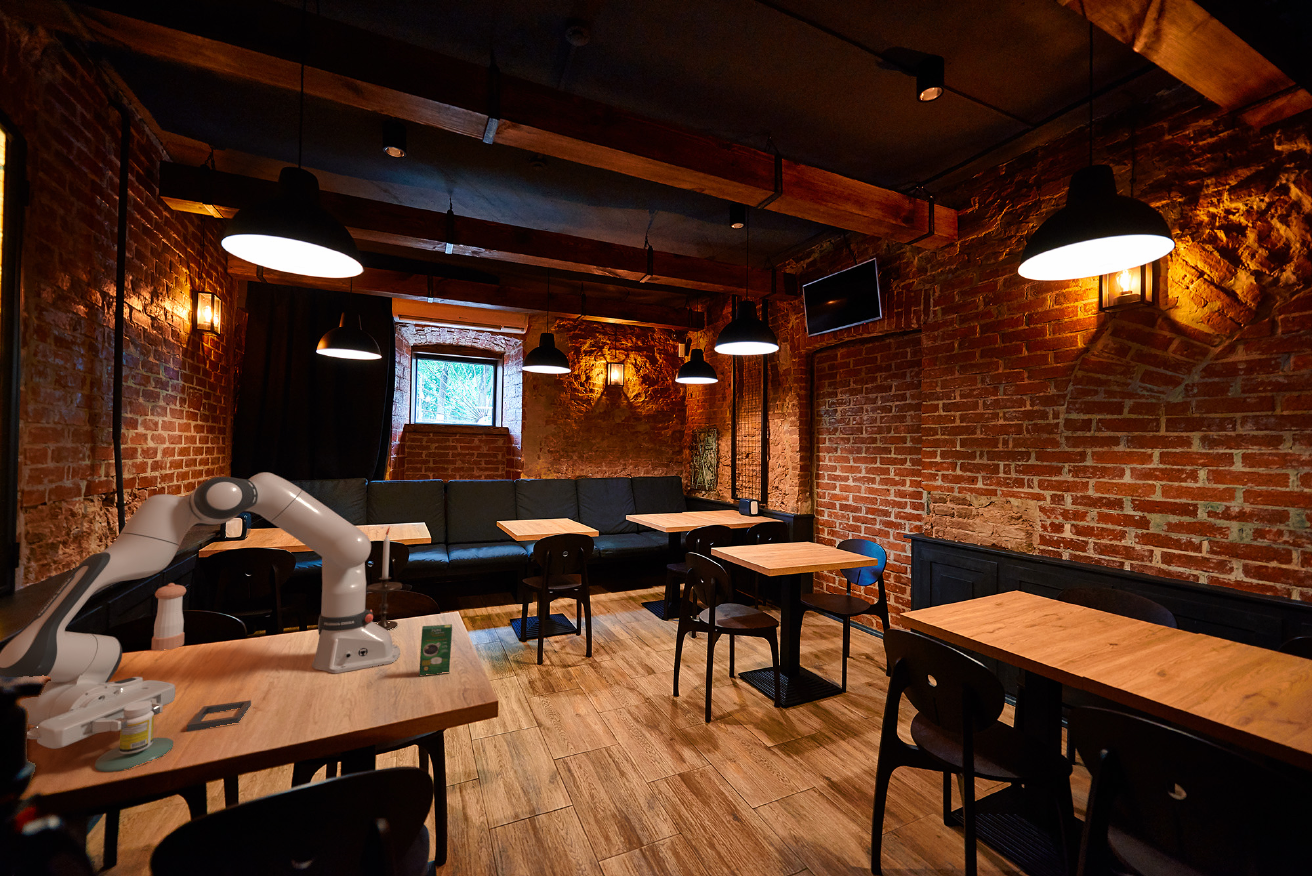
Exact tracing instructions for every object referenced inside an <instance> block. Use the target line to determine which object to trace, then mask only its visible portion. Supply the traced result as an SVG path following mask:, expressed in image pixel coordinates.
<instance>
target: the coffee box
mask: <svg viewBox="0 0 1312 876" xmlns="http://www.w3.org/2000/svg"><path fill="white" fill-rule="evenodd" d="M452 638H453V625H452V624H449V623H448V624H438V625H437V624H436V625H435V624H434V625H423V626H422V629H421V639H420V656H419V671H418V676H419V677H421V676H420V675H426V674H437V673H442V672H449V673H450V671H451V667H450V665H451V654H452ZM437 675H438V674H437Z"/></svg>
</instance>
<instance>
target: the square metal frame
mask: <svg viewBox="0 0 1312 876" xmlns="http://www.w3.org/2000/svg"><path fill="white" fill-rule="evenodd" d="M250 706H252V700H251V699H250V700H241V701H235V702H227V703H218V704H213V705H204V706H203V707H202V708H201V709H200V710H199V711H198V712H197V713H196V714H195V715H194V717H193V718H192V719H191V720H190V721H189V722H188V724H187V725H186V732H187V733H188V732H195V731H201V729H202V730H207V729H206V728H209V729H211V728H210V727H216V726H220V725H227V724H232V723H240V722H241V721H242V720H241V718H242V717H243V716H244V717H245V715H246V714H247V712H248V711H249V710H248V708H249V707H250ZM237 708H240V709H239V710H238V711H237V713H236V714H235V715H234V716H229V717H222V718H214V719H208V720H207V719H206V720H203V719H204V718H205V717H206V714H207V715H208V713H210V714H215V713H214V712H217V713H221V712H220V711H224V712H227V711H226V710H231V709H237ZM250 708H251V707H250ZM250 708H249V709H250ZM247 710H248V711H247ZM246 711H247V712H246ZM245 713H246V714H245ZM244 714H245V715H244ZM244 717H243V718H244ZM243 718H242V719H243ZM240 720H241V721H240ZM239 721H240V722H239ZM216 728H217V727H216Z"/></svg>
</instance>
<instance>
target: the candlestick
mask: <svg viewBox="0 0 1312 876" xmlns="http://www.w3.org/2000/svg"><path fill="white" fill-rule="evenodd" d="M390 528H391V526H388V528H387V531H386V533H385V538H384V539H383V550H382V572H381V573H382V574H381V577H379V578H378V580H381V582H377V583H376V582H375V583H372V584H369V585H366V592H369V593H374V594H375V593H377V594H378V593H379V594H381V603H380V604H379V609H380V612H379V615H380V616H381V617H380V618H381V619H380V620H379V621H376V622H375V623H376V624H377V623H378V624H377V625H379V626H381V627H382V628H384V629H386V630H389V631H391V630H390V629H392V628H395V627H396V626H397V627H398V625H399V624H398V622H397V621H396V620H395V621H393V620H387V618H386V616H387V614H388V611H387V609H388V607H389V603H387V594H388V593H390V592H395V591H399V590H401V589H402V587H403V583H401V582H399V581H397V582H396V581H389V580H391V579H392V577H391V576H389V566H390V565H389V564H390V542H391V540H390V538H389V532H390V530H391V529H390ZM388 622H390V623H388ZM397 627H396V628H397ZM396 628H395V629H396ZM392 630H393V629H392Z"/></svg>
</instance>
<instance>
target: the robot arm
mask: <svg viewBox="0 0 1312 876" xmlns="http://www.w3.org/2000/svg"><path fill="white" fill-rule="evenodd" d="M244 512H251V513H255V514H256V515H259V516H261V517H262V518H264V519H265V520H266V521H268V522H270V523H271V524H273V525H274V526H276V527H277V528H279V529H280V530H282V531H284V532H285V533H287V534H288V535H290V536H291V537H293V538H295V539H296V540H298V541H299V542H300V543H302V544H303V545H305V546H306V547H308V548H309V549H310V550H312V551H313V552H314V553H316V554H317V555H319V556H320V557H321V574H322V575H321V579H322V580H321V582H322V583H321V584H322V585H321V590H322V592H321V612H320V614H319V615H318V616H319V617H318V624H317V625H318V629H317V631H318V636H319V637H318V642H317V647H316V652H315V655H314V657H313V661H312V664H311V666H312V668H313V669H315V670H319V671H325V672H329V673H331V674H339V673H345V672H350V671H356V670H363V669H368V668H373V667H377V666H378V665H379V666H383V665H382V664H384V665H389V664H392V662H393V663H394V662H396V661H397V660H398V659H399V658H400V656H399V655H401V648H400V647H399V645H396V644H393V639H392V636H391V633H390V630H389V631H388V630H386V629H384V628H382V627H381V626H379V625H377V624H376V622H374V621H373V619H374V615H373V610H372V609H370V610H369V609H368V608H366V596H367V594H366V593H367V579H366V577H367V576H366V565H365V564H366V563H365V562H366V561H367V560H368V558H369V556H370V554H371V552H372V551H371V550H372V543H371V540H370V538H369V536H368V535H367V534H366V533H365V532H364V531H363V530H361V529H360V528H359V527H358V526H356V525H354V524H352V523H351V522H349V521H347V520H346V519H345V518H343V517H342V516H340V515H339V514H338V513H336V512H335V511H334V510H332V509H331V508H329V507H328V506H326V505H325V504H323V503H322V502H320V501H319V500H317V499H316V498H314V497H313V496H312V495H311V494H309V493H307V492H306V491H305V490H303V489H302V488H300V487H299V486H297V485H295V484H294V483H292V482H291V481H289V480H287V479H285V478H283V477H281V476H279V475H276V474H274V473H271V472H258V473H257V474H255V475H253V476H251V477H250V478H248V479H244V478H237V477H232V476H218V477H217V476H216V477H212V478H210V479H207V480H205V481H204V482H203V483H201V484H199V485H198V486H197V487H195V489H194V490H193V491H192V492H191V493H190V494H188V495H185V496H177V495H174V494H169V493H168V494H167V493H163V494H154V495H152V496H149V497H148V498H146V499H145V501H143V502H142V504H140V505H139V507H138V508H137V509H136V510H135V511H134V513H133V514H132V515H131V517H130V518H129V519H128V521H127V522H126V523H125V525H124V527H123V528H122V530H121V531H120V533H119V534H118V536H117V538H116V539H115V540H114V541H113V542H112V543H111V544H109V546H108V547H106V548H105V549H104V550H102V551H101V552H98V553H97V552H96V553H94V554H93V553H92V554H90V555H89V556H88V557H86V558H85V559H83V561H81V563H80V564H78V565H77V567H76V568H75V569H74V570H73V571H72V572H71V573H70V574H69V575H68V576H67V578H66V579H65V580H64V581H63V582H62V583H61V584H60V586H59V587H58V588H57V589H56V590H55V592H54V593H53V594H52V595H51V596H50V598H49V599H47V601H46V602H45V603H44V604H43V605H42V607H41V608H40V609H39V611H37V613H35V615H34V616H33V617H32V619H30V621H29V622H28V623H27V624H25V626H24V627H23V628H22V629H21V630H19V632H18V633H16V634H15V635H14V636H13V637H12V638H11V639H10V640H8V642H7V643H6V644H5V645H4V646H3V648H2V649H1V650H0V676H1V677H2V676H5V677H23V676H29V677H33V676H42V675H44V676H48V677H50V678H51V681H48V682H47V683H46V685H45V687H44V690H43V691H42V693H41V695H39V697H31V698H26V699H23V700H21V702H20V704H21V705H22V706H25V708H27V711H28V714H29V718H28V725H29V726H33V727H31V728H30V729H29V730H28V731H27V738H26V739H30V740H36V743H37V744H39V745H41V746H42V747H45V748H48V749H52V750H53V749H55V750H56V749H61V748H64V747H67V746H69V745H72V744H75V743H76V742H79V741H82V740H83V739H87V738H89V737H91V736H93V735H96V734H99V733H106V732H110V731H111V732H120V730H121V729H123V728H126V727H127V724H126V723H127V719H126V718H123V717H124V715H123V713H124V708H125V707H126V706H128V705H130V704H133V703H136V702H141V701H151V702H152V710H151V711H153V712H154V716H156V715H159V714H162V713H163V708H164V706H166V705H169V704H171V703H173V702H174V701H175V698H176V685H175V684H174V683H171V682H167V681H162V680H153V679H152V680H151V679H149V680H143V677H142V676H134V677H128V678H125V679H119V680H116V681H110V680H111V679H112V678H113V676H114V675H115V673H116V672H117V670H118V669H119V666H120V665H121V663H122V659H123V647H122V645H121V643H120V642H121V641H119V639H118V638H117V637H115V636H111V635H110V636H109V635H102V634H94V633H82V632H73V631H66V627H67V626H68V625H69V623H70V622H71V621H72V619H73V618H74V617H75V616H76V615H77V613H79V611H80V610H81V608H82V607H83V606H84V605H85V604H86V603H87V601H88V600H89V599H90V597H91V596H92V595H93V594H94V593H95V592H96V591H97V590H99V589H100V588H102V587H105V586H107V585H109V584H113V583H119V582H122V581H123V582H124V581H132V580H140V579H142V578H143V579H144V578H147V577H150V576H154V575H155V574H158V573H159V572H161V571H163V570H164V569H165V568H167V567H168V565H169V564H170V563H171V562H172V560H174V557H175V555H176V554H177V551H178V550H179V548H180V546H181V545H182V541H184V540H183V539H184V538H185V536H186V535H187V534H188V533H189V532H188V531H190V530H191V528H192V527H193V526H194V527H195V526H197V527H199V526H201V527H211V526H212V527H213V526H219V525H222V524H225V523H227V522H230V521H231V520H233V519H235V518H236V517H238V516H239V515H240V514H242V513H244ZM398 657H399V658H398ZM397 658H398V659H397ZM395 660H396V661H395ZM372 666H373V667H372ZM379 666H378V667H379Z"/></svg>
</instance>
